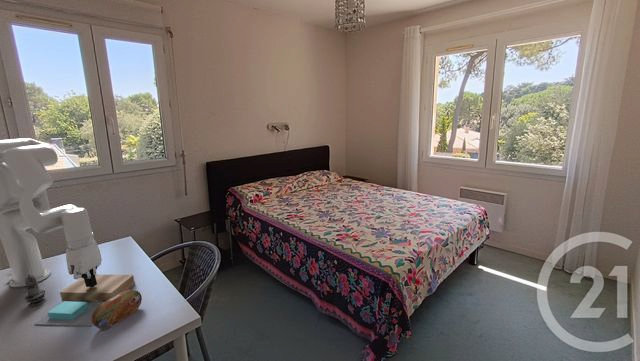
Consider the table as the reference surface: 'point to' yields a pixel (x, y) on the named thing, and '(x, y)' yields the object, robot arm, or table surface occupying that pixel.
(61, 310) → the turquoise foam pad
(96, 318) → the tin
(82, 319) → the mat
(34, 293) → the grey chess piece
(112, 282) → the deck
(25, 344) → the table surface
